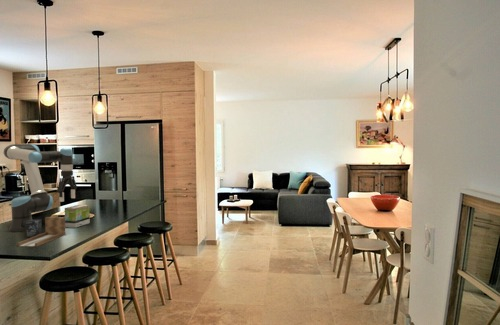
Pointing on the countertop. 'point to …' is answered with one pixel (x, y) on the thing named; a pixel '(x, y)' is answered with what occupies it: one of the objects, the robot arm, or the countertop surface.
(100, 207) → the countertop surface
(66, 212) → the tea box
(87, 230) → the countertop surface
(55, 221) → the track
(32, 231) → the box
